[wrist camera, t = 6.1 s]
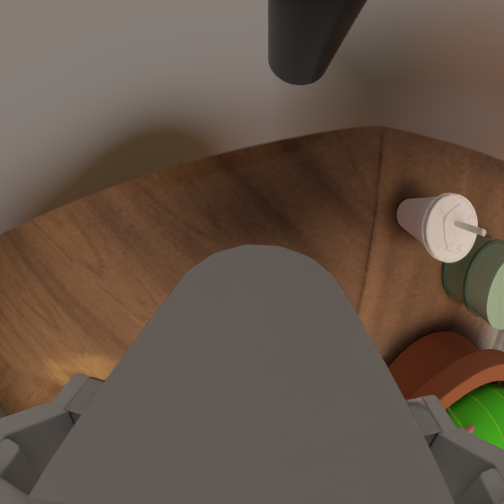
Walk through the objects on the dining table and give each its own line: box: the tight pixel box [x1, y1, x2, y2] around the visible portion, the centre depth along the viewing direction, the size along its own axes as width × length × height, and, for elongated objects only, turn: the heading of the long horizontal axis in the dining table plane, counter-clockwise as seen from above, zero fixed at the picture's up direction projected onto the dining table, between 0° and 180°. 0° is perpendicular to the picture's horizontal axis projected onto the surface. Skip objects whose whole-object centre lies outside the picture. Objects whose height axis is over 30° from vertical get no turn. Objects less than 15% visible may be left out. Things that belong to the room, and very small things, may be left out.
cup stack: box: [442, 234, 504, 330], centre depth 28 cm, size 10×10×10 cm
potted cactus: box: [388, 331, 504, 450], centre depth 25 cm, size 22×22×25 cm
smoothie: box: [397, 193, 486, 263], centre depth 25 cm, size 6×6×14 cm
